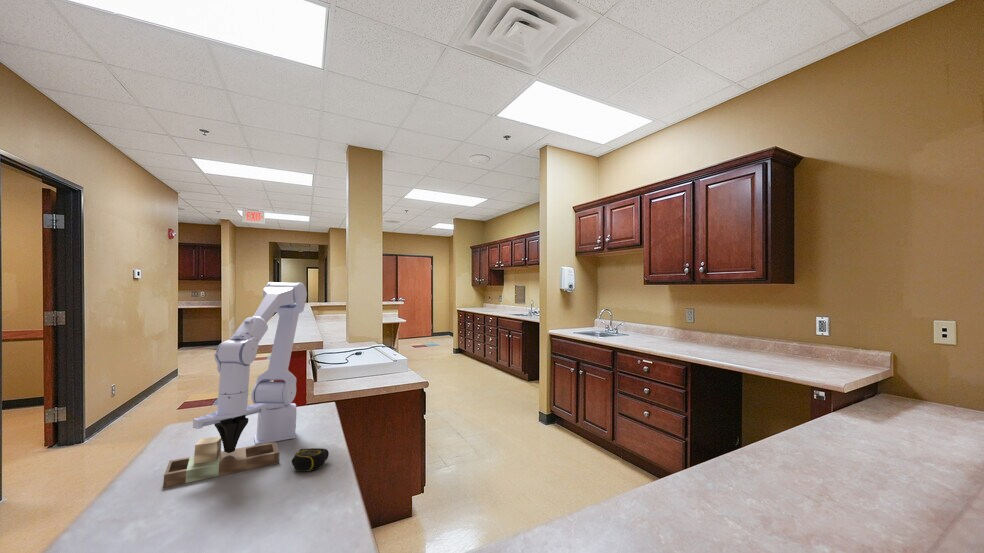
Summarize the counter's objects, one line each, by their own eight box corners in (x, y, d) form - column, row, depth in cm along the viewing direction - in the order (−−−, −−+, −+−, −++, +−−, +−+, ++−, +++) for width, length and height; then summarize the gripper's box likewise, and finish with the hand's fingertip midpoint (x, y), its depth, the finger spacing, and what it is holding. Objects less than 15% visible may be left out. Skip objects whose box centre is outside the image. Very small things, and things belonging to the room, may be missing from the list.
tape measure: (329, 461, 88) (330, 445, 88) (318, 475, 81) (319, 457, 81) (300, 462, 87) (301, 446, 87) (286, 475, 80) (287, 458, 81)
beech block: (220, 453, 85) (221, 436, 85) (216, 460, 81) (217, 442, 81) (199, 456, 83) (200, 438, 83) (193, 463, 79) (195, 444, 80)
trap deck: (275, 451, 92) (275, 441, 92) (278, 463, 86) (279, 452, 86) (168, 472, 80) (169, 460, 80) (163, 487, 74) (164, 475, 74)
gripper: (255, 383, 93) (251, 438, 92) (187, 396, 80) (182, 459, 79) (272, 387, 90) (268, 443, 89) (204, 400, 77) (199, 466, 76)
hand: (229, 451), depth 84 cm, fingers closed
